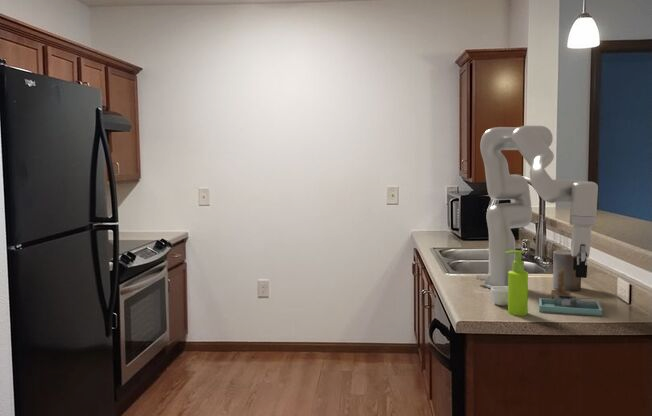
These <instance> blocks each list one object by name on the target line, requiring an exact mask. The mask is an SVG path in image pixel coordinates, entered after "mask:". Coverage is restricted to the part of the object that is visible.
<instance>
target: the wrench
mask: <svg viewBox="0 0 652 416" xmlns="http://www.w3.org/2000/svg"><path fill="white" fill-rule="evenodd" d="M596 302H597V300H596V299H593V298H592V299H590V298H589V299H588V298H587V299H586V298H577V297H576V296H575V295H574V296H573V295H571V296H570V295H555V296H554V306H555V307H570V308H585V309H596Z"/></svg>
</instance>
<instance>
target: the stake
mask: <svg viewBox="0 0 652 416" xmlns="http://www.w3.org/2000/svg"><path fill="white" fill-rule="evenodd" d="M564 279H565V270H564V269H558V289H551V292H550V293H551V295H549V294H548V295H547V299H554V296H555V295H570V296H572V294H571V292H572V291H567V290H564Z"/></svg>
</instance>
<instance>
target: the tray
mask: <svg viewBox="0 0 652 416" xmlns="http://www.w3.org/2000/svg"><path fill="white" fill-rule="evenodd" d="M538 308H539V313H551V314H564V315H565V314H566V315H576V316H577V315H581V316H591V315H593V316H595V317H603V308H602V306H601V305H600V302H599V301H596V309H585V308H570V307H555V306H554V299H548V298H543V297H541V298H540V297H538ZM593 316H592V317H593Z"/></svg>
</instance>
